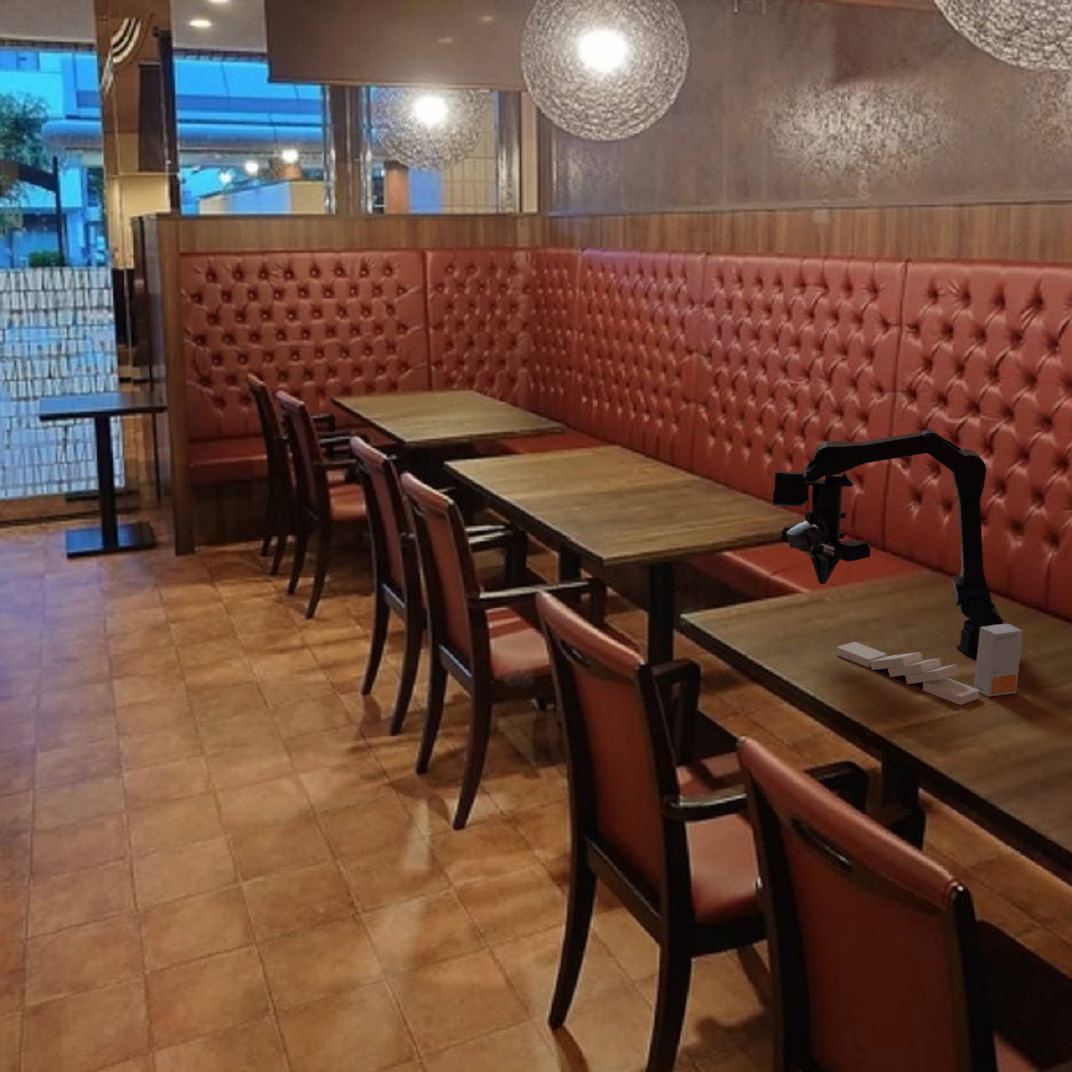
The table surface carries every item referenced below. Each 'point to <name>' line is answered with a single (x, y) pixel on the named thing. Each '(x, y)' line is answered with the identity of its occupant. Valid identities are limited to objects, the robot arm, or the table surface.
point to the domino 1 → (859, 653)
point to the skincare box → (998, 659)
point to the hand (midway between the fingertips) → (822, 583)
